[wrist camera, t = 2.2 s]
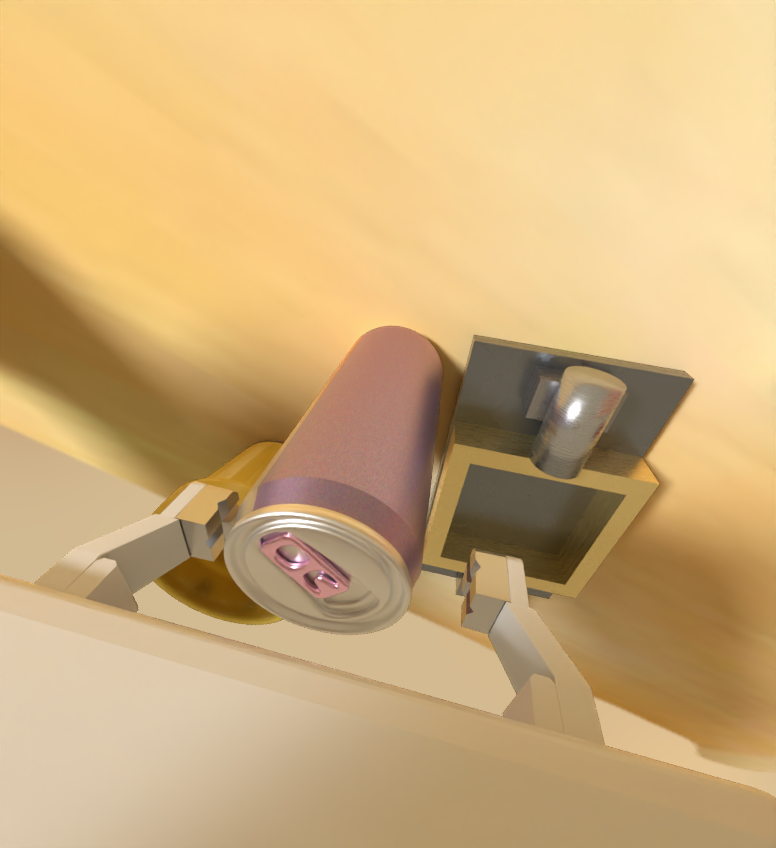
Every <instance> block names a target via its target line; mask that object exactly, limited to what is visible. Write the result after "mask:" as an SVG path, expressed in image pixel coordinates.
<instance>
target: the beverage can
mask: <svg viewBox="0 0 776 848" xmlns="http://www.w3.org/2000/svg"><path fill="white" fill-rule="evenodd" d="M442 380H443V368H442V363H441V359H440V357H439V355H438V353H437V351H436V349H435V348H434V346H433V345H432V344H431V343H430V342H429V341H428V340H427V339H426V338H425V337H423V336H422V335H421V334H419V333H417V332H415V331H413V330H411V329H408V328H405V327H400V326H384V327H379V328H376V329H373V330H371V331H369V332H367V333H365V334H364V335H363V336H361V337H360V338H359V339H358V340H357V341H356V343H355V344H354V345H353V347H352V348H351V349H350V351H349V352H348V354H347V355H346V357H345V358H344V359H343V361H342V362H341V364H340V365H339V366H338V368H337V369H336V371H335V372H334V373H333V375H332V376H331V378H330V379H329V380H328V382H327V383H326V385H325V386H324V387H323V389H322V390H321V392H320V393H319V394H318V396H317V397H316V399H315V400H314V401H313V403H312V404H311V406H310V407H309V408H308V410H307V411H306V413H305V414H304V415H303V417H302V418H301V420H300V421H299V423H298V424H297V425H296V427H295V428H294V430H293V431H292V432H291V434H290V435H289V437H288V438H287V439H286V441H285V442H284V444H283V445H282V446H281V448H280V449H279V451H278V452H277V453H276V455H275V456H274V458H273V459H272V460H271V462H270V463H269V465H268V466H267V467H266V469H265V470H264V472H263V473H262V474H261V476H260V477H259V479H258V480H257V481H256V483H255V484H254V486H253V487H252V489H251V490H250V491H249V493H248V494H247V496H246V497H245V498H244V500H243V501H242V503H241V505H240V507H239V510H238V513H237V517H236V522H235V525H234V526H233V527H232V528H231V530H230V532H229V533H228V535H227V538H226V540H225V544H224V560H225V564H226V567H227V569H228V571H229V573H230V575H231V577H232V578H233V580H234V581H235V583H236V584H237V585H238V586H239V587H240V589H241V590H242V591H243V592H244V593H245V594H246V595H247V596H248V597H249V598H251V599H252V600H253V601H254V602H256V603H257V604H258V605H260V606H261V607H263V608H264V609H266V610H267V611H269V612H270V613H272V614H274V615H276V616H278V617H280V618H282V619H284V620H287V621H288V622H291V623H293V624H296V625H299V626H302V627H305V628H308V629H312V630H316V631H320V632H325V633H331V634H342V635H357V634H367V633H372V632H376V631H380V630H382V629H385V628H387V627H389V626H391V625H393V624H394V623H396V622H397V621H398V620H400V618H401V617H402V616H403V615H404V614H405V613H406V611H407V609H408V607H409V604H410V601H411V597H412V588H413V586H414V584H415V583H416V581H417V579H418V577H419V575H420V572H421V568H422V559H423V550H424V541H425V532H426V524H427V515H428V506H429V497H430V488H431V479H432V470H433V461H434V452H435V443H436V434H437V425H438V416H439V407H440V398H441V389H442Z"/></svg>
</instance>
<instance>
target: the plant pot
mask: <svg viewBox="0 0 776 848" xmlns="http://www.w3.org/2000/svg"><path fill="white" fill-rule="evenodd" d="M282 445H283V443H279V442H261V443H257V444H254V445H252V446H251V447H249V448H248V449H246V450H245V451H243V452H242V453H240V454H239V455H238V456H236V457H235V458H233V459H232V460H231V461H229V462H228V463H227V464H225V465H224V466H222V467H221V468H220V469H218V470H217V471H215V472H214V473H213V474H211V475H210V476H208V477H207V478H203V479H198V480H194V481H191V482H188V483H186V484H184V485H183V486H181V487H180V488H178V489H177V490H176V491H175V492H174V493H173V494H172V495H171V496H170V497H168V498H167V499H166V500H165V501H164V502H163V503H162V504H161V505H160V506H159V507H158V508H157V510H156V511H154V513H153V514H152V515H154V514H161V513H162V512H163V511H164V510H165V509H166V508H167V507H168V506H169V505H170V504H171V503H172V502H173V501H174V500H175V499H176V498H177V497H178V496H179V495H180V494H181V493H182V492H183V491H184V490H185V489H186V488H187V487H188V486H189V485H190V484H191V483H193V482H195V481H197V482H201V483H205V484H209V485H213V486H217V487H221V488H224V489H228V490H232V491H235V492H238V495H239V500H238V502H237V505H238V506H239V507H240V505H241V503H242V501H243V500H244V498H245V497H246V496H247V494H248V493H249V491H250V490H251V489H252V487H253V486H254V484H255V483H256V481H257V480H258V479H259V477H260V476H261V474H262V473H263V472H264V470H265V469H266V467H267V466H268V465H269V463H270V462H271V460H272V459H273V458H274V456H275V455H276V453H277V452H278V451H279V449H280V448H281V446H282ZM225 540H226V539H225ZM154 582H155V583H156V584H157V585H158V586H159V587H160V588H162V589H163V590H164V591H166V592H167V593H168V594H169V595H171V596H172V597H174V598H175V599H177V600H178V601H180V602H182V603H183V604H185V605H187V606H189V607H191V608H192V609H194V610H197V611H199V612H201V613H204V614H206V615H209V616H211V617H214V618H217V619H221V620H224V621H229V622H234V623H239V624H247V625H263V624H270V623H274V622H278V621H281V620H283V619H282V618H280V617H278V616H276V615H274V614H272V613H270V612H269V611H267V610H266V609H264V608H263V607H261V606H260V605H258V604H257V603H256V602H254V601H253V600H252V599H251V598H249V597H248V596H247V595H246V594H245V593H244V592H243V591H242V590H241V589H240V587H239V586H238V585H237V584H236V583H235V581H234V580H233V578H232V577H231V575H230V573H229V571H228V569H227V567H226V564H225V560H224V548H223V550H222V551H221V552H220V554H219V555H218V557H217V558H216V559H215V561H214V562H213V561H209V560H205V559H200V558H196V557H192V556H190V558H189V559H187V560H185V561H184V562H182V563H181V564H179V565H178V566H176V567H174V568H173V569H171V570H170V571H168V572H167V573H165V574H163V575H162V576H160V577H159V578H157V579H156V580H154Z"/></svg>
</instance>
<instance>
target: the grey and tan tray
mask: <svg viewBox="0 0 776 848" xmlns="http://www.w3.org/2000/svg"><path fill="white" fill-rule="evenodd" d="M693 380H694V379H693V378H692V377H691V376H690V375H689V374H687V373H686V372H685V371H680V370H674V369H669V368H663V367H657V366H651V365H646V364H640V363H634V362H628V361H622V360H617V359H611V358H605V357H599V356H593V355H588V354H582V353H576V352H570V351H565V350H559V349H553V348H547V347H541V346H536V345H530V344H524V343H518V342H512V341H507V340H501V339H495V338H489V337H484V336H478V335H474V337H473V341H472V344H471V348H470V352H469V356H468V360H467V364H466V368H465V371H464V375H463V379H462V383H461V387H460V391H459V395H458V398H457V402H456V406H455V410H454V414H453V418H452V422H451V425H450V429H449V433H448V437H447V441H446V445H445V449H444V452H443V456H442V460H441V464H440V468H439V472H438V476H437V479H436V483H435V487H434V491H433V495H432V499H431V503H430V506H429V510H428V515H427V524H426V532H425V541H424V550H423V559H422V568H421V570H425V571H429V572H433V573H438V574H442V575H447V576H451V577H455V578H456V595H460V596H464V595H463V594H462V583H463V576H464V571H465V568H466V565H467V563H469V562H470V555H471V552H472V550H473V549H474V548H476V549H481V550H485V551H490V552H494V553H499V554H503V555H506V556H510V557H515V558H519V559H521V560H522V561H523V565H524V572H525V579H526V586H527V593H528V594H530V595H534V596H538V597H543V598H547V599H549V598H550V596H551V595H552V593H555V594H559V595H564V596H568V597H572V598H576V597H577V596H578V594H579V593H580V591H581V590H582V589H583V587H584V586H585V585H586V583H587V582H588V581H589V579H590V578H591V577H592V575H593V574H594V572H595V571H596V570H597V568H598V567H599V566H600V564H601V563H602V562H603V560H604V559H605V558H606V556H607V555H608V553H609V552H610V551H611V549H612V548H613V547H614V545H615V544H616V543H617V541H618V540H619V539H620V537H621V536H622V535H623V533H624V532H625V530H626V529H627V528H628V526H629V525H630V524H631V522H632V521H633V520H634V518H635V517H636V516H637V514H638V513H639V511H640V510H641V509H642V507H643V506H644V505H645V503H646V502H647V501H648V499H649V498H650V497H651V495H652V494H653V492H654V491H655V490H656V488H657V487H658V486H659V483H658V481H657V480H656V478H655V477H654V475H653V474H652V472H651V471H650V469H649V468H648V466H647V465H646V463H645V462H644V460H643V459H642V457H643V456H644V454H645V453H646V451H647V450H648V448H649V447H650V445H651V444H652V442H653V441H654V439H655V438H656V436H657V435H658V433H659V432H660V430H661V429H662V427H663V426H664V424H665V423H666V421H667V420H668V418H669V417H670V415H671V414H672V412H673V411H674V409H675V407H676V406H677V404H678V403H679V401H680V400H681V398H682V397H683V395H684V394H685V392H686V391H687V389H688V388H689V386H690V385H691V383H692V382H693Z"/></svg>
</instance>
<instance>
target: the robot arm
mask: <svg viewBox="0 0 776 848" xmlns="http://www.w3.org/2000/svg"><path fill="white" fill-rule="evenodd" d="M238 500H239V495H238V492H235V491H232V490H228V489H224V488H221V487H217V486H213V485H209V484H205V483H201V482H197V481H195V482H193V483H191V484H190V485H189V486H188V487H187V488H186V489H185V490H184V491H183V492H182V493H181V494H180V495H179V496H178V497H177V498H176V499H175V500H174V501H173V502H172V503H171V504H170V505H169V506H168V507H167V508H166V509H165V510H164V511H163V512H162V513H161V514H154V515H151V516H149V517H147V518H144V519H142V520H139V521H137V522H135V523H132V524H130V525H128V526H125V527H123V528H120V529H118V530H116V531H113V532H111V533H109V534H106V535H104V536H101V537H99V538H97V539H94V540H92V541H90V542H87V543H85V544H82V545H80V546H78V547H75V548H73V549H72V550H71V551H70V552H69V553H68V554H67V555H65V557H63V558H62V559H61V560H60V561H59V562H57V563H56V564H55V565H54V566H53V567H52V568H51V569H50V570H49V571H47V572H46V573H45V574H44V575H43V576H42V577H40V578H39V579H38V580H37V581H36V582H35V583H34V584H33V583H30V582H26V581H23V580H19V579H16V578H12V577H9V576H5V575H2V574H0V848H776V798H775V797H774V796H772V795H770V794H769V793H766V792H764V791H761V790H758V789H756V788H753V787H750V786H747V785H743V784H739V783H736V782H732V781H729V780H725V779H721V778H718V777H714V776H711V775H707V774H704V773H700V772H696V771H693V770H689V769H686V768H682V767H679V766H676V765H672V764H668V763H665V762H661V761H658V760H654V759H651V758H647V757H644V756H640V755H637V754H633V753H630V752H626V751H622V750H619V749H616V748H612V747H609V746H605V743H604V739H603V735H602V731H601V727H600V722H599V718H598V714H597V710H596V706H595V702H594V697H593V693H592V689H591V687H590V686H589V684H588V683H587V681H586V680H585V679H584V677H583V676H582V674H581V673H580V672H579V670H578V669H577V667H576V666H575V665H574V663H573V662H572V660H571V659H570V658H569V656H568V655H567V654H566V652H565V651H564V649H563V648H562V647H561V645H560V644H559V642H558V641H557V640H556V638H555V637H554V635H553V634H552V633H551V631H550V630H549V628H548V627H547V626H546V624H545V623H544V622H543V620H542V619H541V617H540V616H539V615H538V613H537V612H536V610H535V609H533V608H530V607H529V600H528V593H527V586H526V579H525V572H524V565H523V561H522V560H521V559H519V558H515V557H510V556H506V555H503V554H499V553H494V552H490V551H485V550H481V549H476V548H474V549H473V550H472V552H471V555H470V562H469V563H467V565H466V568H465V571H464V576H463V583H462V594H463V595H464V597H465V599H464V601H463V604H462V614H461V626H462V627H465V628H469V629H472V630H476V631H479V632H482V633H486V634H489V635H488V637H489V639H490V641H491V643H492V645H493V647H494V649H495V651H496V653H497V655H498V657H499V659H500V661H501V663H502V665H503V667H504V669H505V671H506V673H507V675H508V677H509V680H510V682H511V684H512V686H513V688H514V690H515V692H516V694H517V695H516V697H515V698H514V699H513V700H512V702H511V703H510V704H509V706H508V707H507V708H506V709H505V711H504V712H503V716H499V715H495V714H492V713H488V712H485V711H481V710H478V709H474V708H470V707H467V706H463V705H460V704H457V703H453V702H450V701H446V700H442V699H439V698H435V697H432V696H428V695H425V694H421V693H418V692H414V691H411V690H407V689H404V688H400V687H397V686H393V685H389V684H386V683H383V682H379V681H376V680H372V679H368V678H365V677H361V676H358V675H354V674H351V673H347V672H344V671H340V670H337V669H333V668H330V667H326V666H323V665H319V664H316V663H312V662H309V661H305V660H302V659H298V658H295V657H291V656H287V655H284V654H280V653H277V652H273V651H270V650H266V649H263V648H259V647H256V646H252V645H249V644H245V643H242V642H238V641H235V640H231V639H227V638H224V637H220V636H217V635H214V634H210V633H206V632H202V631H199V630H195V629H192V628H189V627H185V626H182V625H178V624H175V623H171V622H167V621H164V620H160V619H157V618H153V617H149V616H146V615H143V614H139V613H136V612H137V611H138V605H137V603H136V601H135V599H134V597H133V595H132V594H134V593H135V592H137V591H138V590H140V589H141V588H143V587H145V586H146V585H148V584H149V583H151V582H152V581H154V580H156V579H157V578H159V577H160V576H162V575H163V574H165V573H167V572H168V571H170V570H171V569H173V568H174V567H176V566H178V565H179V564H181V563H182V562H184V561H185V560H187V559H189V558H190V556H192V557H196V558H200V559H205V560H209V561H213V562H214V561H215V559H216V558H217V557H218V555H219V554H220V552H221V551H222V550H223V548H224V544H225V539H226V538H227V535H228V533H229V532H230V530H231V528H232V527H233V526H234V525H235V522H236V517H237V513H238V510H239V506H238V505H237V502H238Z"/></svg>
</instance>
